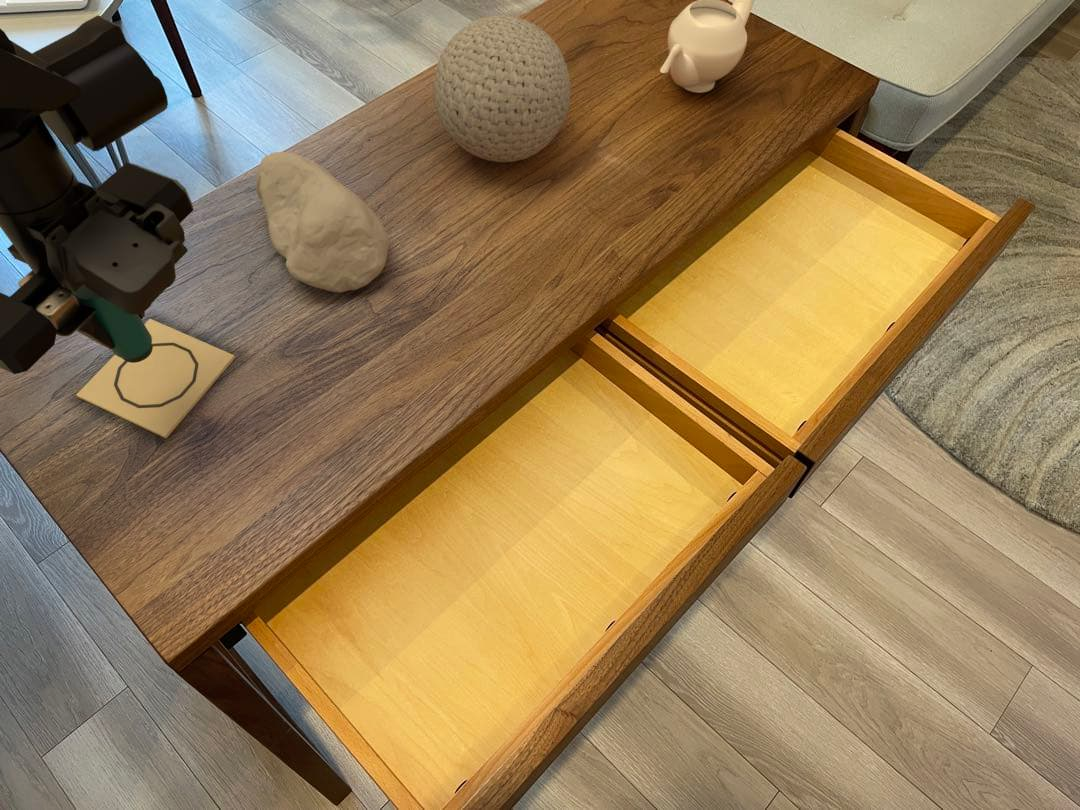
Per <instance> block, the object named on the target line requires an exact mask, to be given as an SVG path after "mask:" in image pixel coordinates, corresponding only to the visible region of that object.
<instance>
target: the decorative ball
mask: <svg viewBox="0 0 1080 810" xmlns="http://www.w3.org/2000/svg"><path fill="white" fill-rule="evenodd" d="M433 81H434V82H433V94H434V95H433V96H434V102H435V107H436V111H437V114H438V116H439V119H440V121H441V123H442V125H443V127H444V129H445V130H446V132H447V133H448V135H449V136H450V137H451V139H452V141H454V142H455V143H456V144H457V145H458V146H459V147H461V148H462V149H463V150H465V151H466V152H467V153H469V154H471V155H473V156H474V157H477V158H479V159H482V160H485V161H489V162H494V163H495V162H496V163H513V162H518V161H519V162H520V161H523V160H525V159H528V158H530V157H532V156H535V155H536V154H538V153H540V151H543V149H545V147H547V146H548V145H549V144H550V143H551V142H552V141H553V140H554V138H555V137H556V136H557V134H558V133H559V131H560V130H561V129H562V126H563V125H564V123H565V120H566V117H567V115H568V111H569V107H570V103H571V95H572V94H571V89H572V88H571V77H570V72H569V69H568V65H567V62H566V60H565V57H564V55H563V53H562V51H561V49H560V47H559V46H558V45H557V43H556V42H555V41H554V39H553V38H552V36H550V35H549V34H548V33H547V32H545V30H543V29H542V28H541V27H539V26H537V25H536V24H534V23H533V22H530V21H528V20H526V19H524V18H520V17H517V16H512V15H505V14H504V15H503V14H502V15H501V14H499V15H496V14H495V15H489V16H484V17H480V18H479V19H475V20H474V21H472V22H469V23H468V24H467V25H465V26H463V27H462V28H460V29H459V30H458V31H457V32H456V33H455V34H454V35H453V36H452V38H451V39H450V40H449V41H448V43H447V44H446V46H445V47H444V49H443V50H442V52H441V54H440V56H439V59H438V62H437V65H436V68H435V72H434V79H433Z"/></svg>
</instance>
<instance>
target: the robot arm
mask: <svg viewBox="0 0 1080 810" xmlns="http://www.w3.org/2000/svg"><path fill="white" fill-rule="evenodd" d="M123 32H124V31H123V30H122V28H121V26H119V25H117V24H116V23H114V22H112V21H110V20H109V19H107V18H105V17H103V16H102V15H96V16H94V17H91V18H89V19H88V20H86V21H84V22H83V23H81V24H80V25H79V26H78V27H77V28H76V29H75V30H74V31H72V32H70V33H68V34H66V35H65V36H63V37H61V38H59V39H57V40H55V41H53V42H51V43H49V44H47V45H46V46H43V47H40V48H39V49H38V50H37V49H36V51H34V52H31V51H29V50H27V49H26V48H24V47H22V46H21V45H19V44H17V43H16V42H15V41H12V40H10V38H9V36H8V35H7V34H6V32H5V31H4V30H3V29H2V28H0V229H1V231H2V232H3V233H4V234H5V236H6V237H7V239H8V240H9V241H10V242H11V245H10V246H9V247H7V251H8V252H9V253H10V255H11V256H12V257H13V258H14V260H16V261H19V262H21V263H24V264H26V265H28V267H29V268H30V271H29V272H27V274H26V275H24V276H23V277H22V279H20V280H19V281H18V282H17V285H18V286H19V288H18V289H17V290H16V291H14V292H13V293H12V294H11V295H10V296H9V295H7V294H5V293H3V292H0V369H2V370H4V371H6V372H9V373H10V374H13V375H17V374H21V373H26V372H28V371H29V370H30V369H31V368H32V367H33V366H34V365H35V364H36V363H37V362H38V361H39V360H40V359H42V357H44V355H46V353H48V352H49V351H50V350H51V349H52V348H53V347H54V346H55V343H56V339H57V336H59V337H69V336H72V335H73V334H74V333H75V332H78V333H79V334H81V335H82V336H85V337H86V338H88V339H90V340H92V341H94V342H95V343H97V344H99V345H100V346H102V347H104V348H106V349H109V350H110V351H112V350H113V349H114V348H115V344H114V342H113V340H112V338H111V337H110V335H109V334H108V333H107V332H106V331H105V329H104V328H103V327H102V326H101V325H100V323H99V322H98V321H97V320H96V318H95V317H94V316H93V314H94V313H95V312H96V309H95V308H93V307H91V306H88V305H86V304H84V303H82V302H79V301H77V300H76V298H75V297H74V296H73V293H72V291H74V292H76V291H77V290H78V289H79V288H80V287H81V286H82V285H83V284H84V285H85V286H86V287H87V288H88V289H90V290H91V291H93V292H94V293H96V294H98V295H99V296H101V297H103V298H104V299H106V300H107V301H109V302H111V303H112V304H114V305H116V306H117V307H118V308H119V309H120V310H122V311H123V312H125V313H127V314H131V315H139V317H140V318H141V320H142V321H143V320H144V318H145V317H146V314H145V313H146V311H147V310H148V309H150V307H151V306H152V304H153V303H154V302H155V300H156V299H158V297H160V296H161V294H162V293H163V292H164V291H166V290H167V289H168V288H170V287H171V286H172V285H173V284H174V282H175V281H176V277H177V274H176V264H177V263H178V262H179V261H180V260H181V259H182V258H183V257H184V256H185V255H186V254H187V253H188V248H187V247H186V245H184V243H185V242H186V237H185V230H184V228H183V226H182V225H181V223H182V222H183V221H184V220H185V219H186V218H188V216H189V215H191V213H193V211H194V207H193V202H192V200H191V197H190V195H189V193H188V191H187V188H186V187H184V185H183V184H181V182H179V181H178V180H177V179H175V178H173V177H170V176H167V175H165V174H162V173H159V172H156V171H155V170H152V169H149V168H146V167H144V166H141V165H140V164H137V163H131V162H125V163H124V164H123V165H122V166H121V167H120V168H118V169H117V170H116V171H115V172H113V174H111V175H110V176H109V177H108V178H107V179H106V180H104V181H103V182H102V183H101V184H100V185H99V186H97V187H96V188H95V187H93V186H92V185H89V184H86V183H83V182H81V181H79V180H78V178H77V176H76V174H75V173H74V171H73V169H72V168H71V166H70V164H69V162H68V161H67V159H66V158H65V156H64V154H63V153H62V150H61V149H60V148H59V146H58V144H57V142H56V140H55V139H54V136H53V135H52V134H51V132H50V131H52V133H53V134H54V135H55V136H56V137H57V138H58V139H60V140H61V141H62V142H63V143H65V144H66V145H68V146H71V147H75V145H77V144H82V145H83V146H84V147H86V148H87V149H89V150H90V151H92V152H99V151H101V150H103V149H105V148H107V147H108V146H109V145H111V144H112V143H114V142H117V140H119V139H121V138H122V137H124V136H126V135H128V133H129V134H130V133H131V132H133V131H134V130H135V129H137V128H138V127H140V126H142V125H143V124H145V123H147V122H149V121H150V120H151V119H152V120H153V118H155V117H157V116H158V115H161V113H163V112H164V111H166V110H167V109H168V105H169V102H168V95H167V92H166V89H165V87H164V85H163V82H162V80H161V79H160V78H159V77H158V76H156V75H155V74H154V72H153V71H152V69H151V68H150V66H149V64H147V62H146V60H144V58H143V57H142V56H141V55H140V53H139V52H138V51H137V49H135V48H134V47H133V45H131V44H130V43H129V42H128V41H127V40H126V37H125V35H124V33H123Z"/></svg>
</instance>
